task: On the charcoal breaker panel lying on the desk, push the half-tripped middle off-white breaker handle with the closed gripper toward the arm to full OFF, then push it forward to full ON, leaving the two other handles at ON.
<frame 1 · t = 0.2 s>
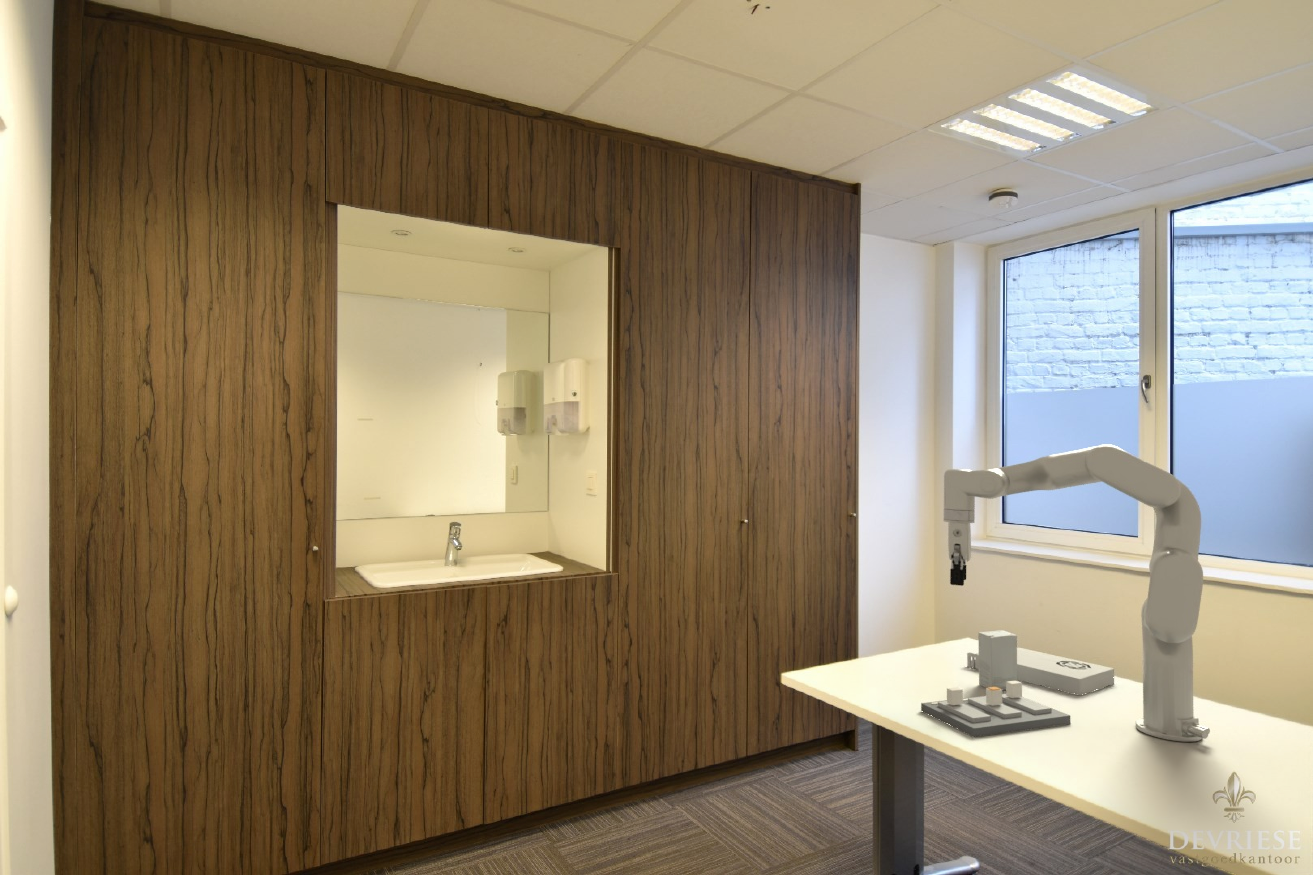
hand: (958, 582, 195), 30 cm above the table, tool pointing down, fingers open, 9 cm apart
tripped breaker: (994, 695, 180), point 5 cm above the table, slide at 3.0 cm
power supply unit: (1038, 677, 216), on the table
breaker one: (1014, 689, 186), point 5 cm above the table, slide at 6.0 cm
skincare box: (997, 688, 204), on the table
breaker panel: (994, 717, 180), on the table
breaker three: (954, 696, 180), point 5 cm above the table, slide at 6.0 cm
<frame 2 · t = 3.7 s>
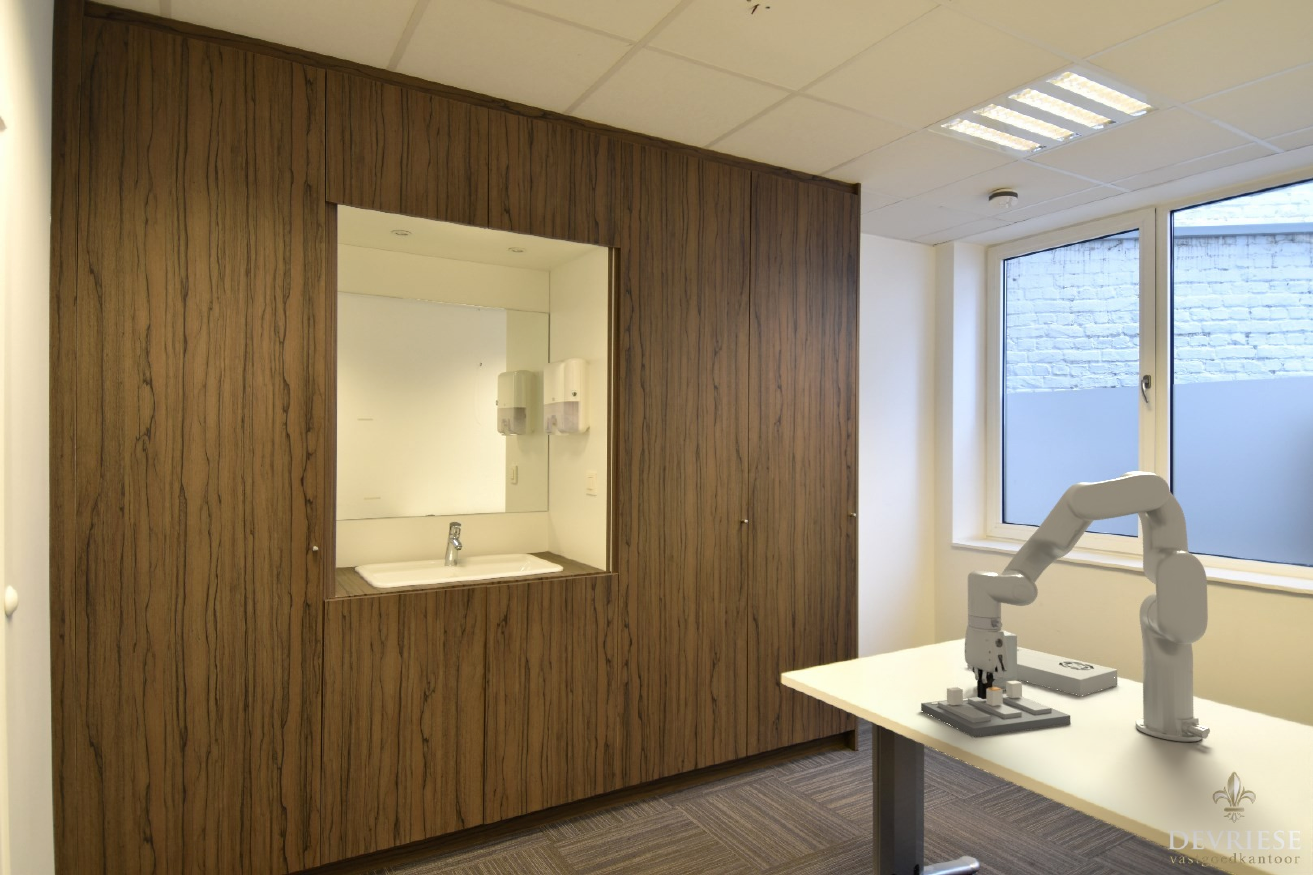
hand: (984, 697, 183), 4 cm above the table, tool pointing down, fingers closed
tripped breaker: (994, 696, 180), point 5 cm above the table, slide at 2.8 cm, touching gripper
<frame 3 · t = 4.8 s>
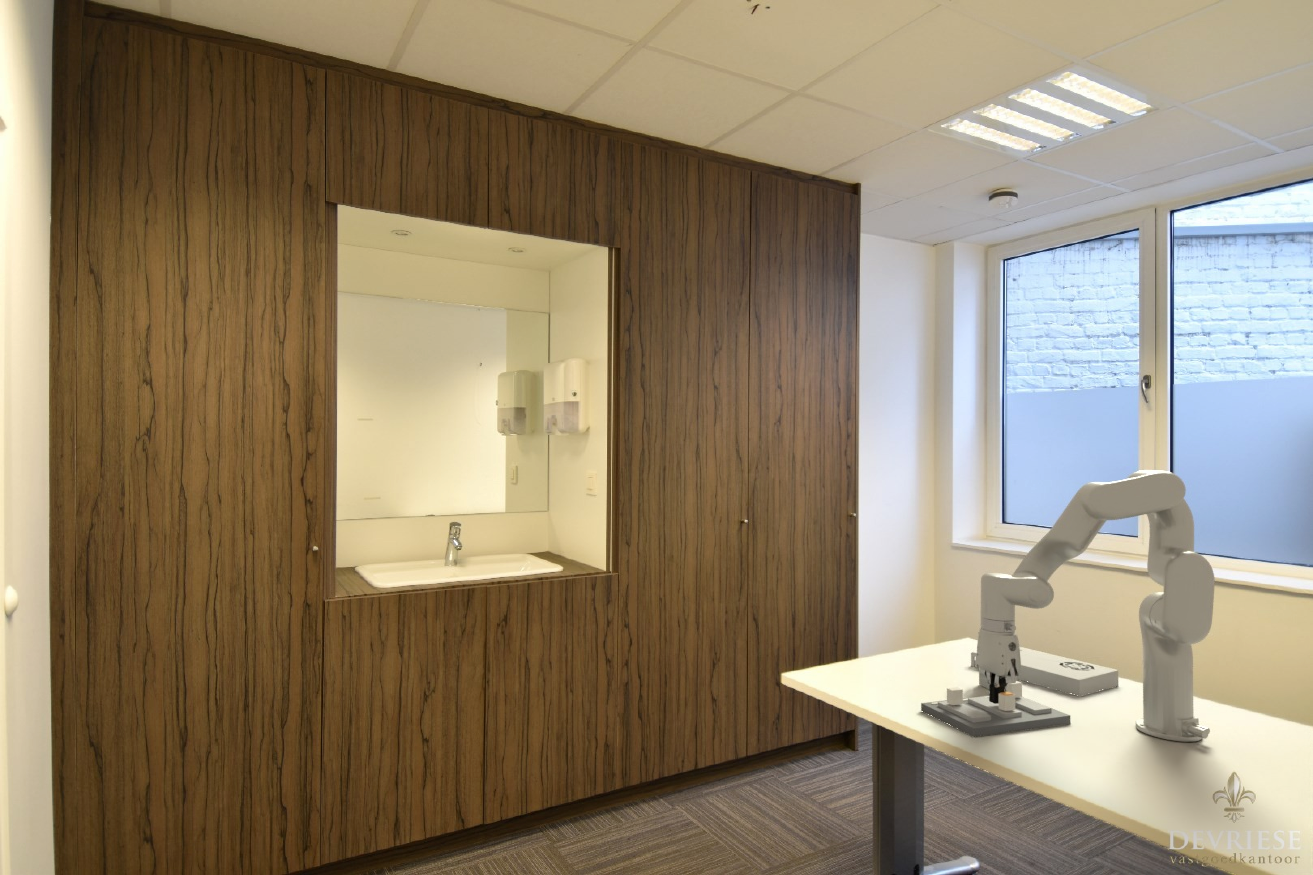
hand: (997, 702, 179), 4 cm above the table, tool pointing down, fingers closed
tripped breaker: (1006, 701, 176), point 5 cm above the table, slide at -1.1 cm, touching gripper
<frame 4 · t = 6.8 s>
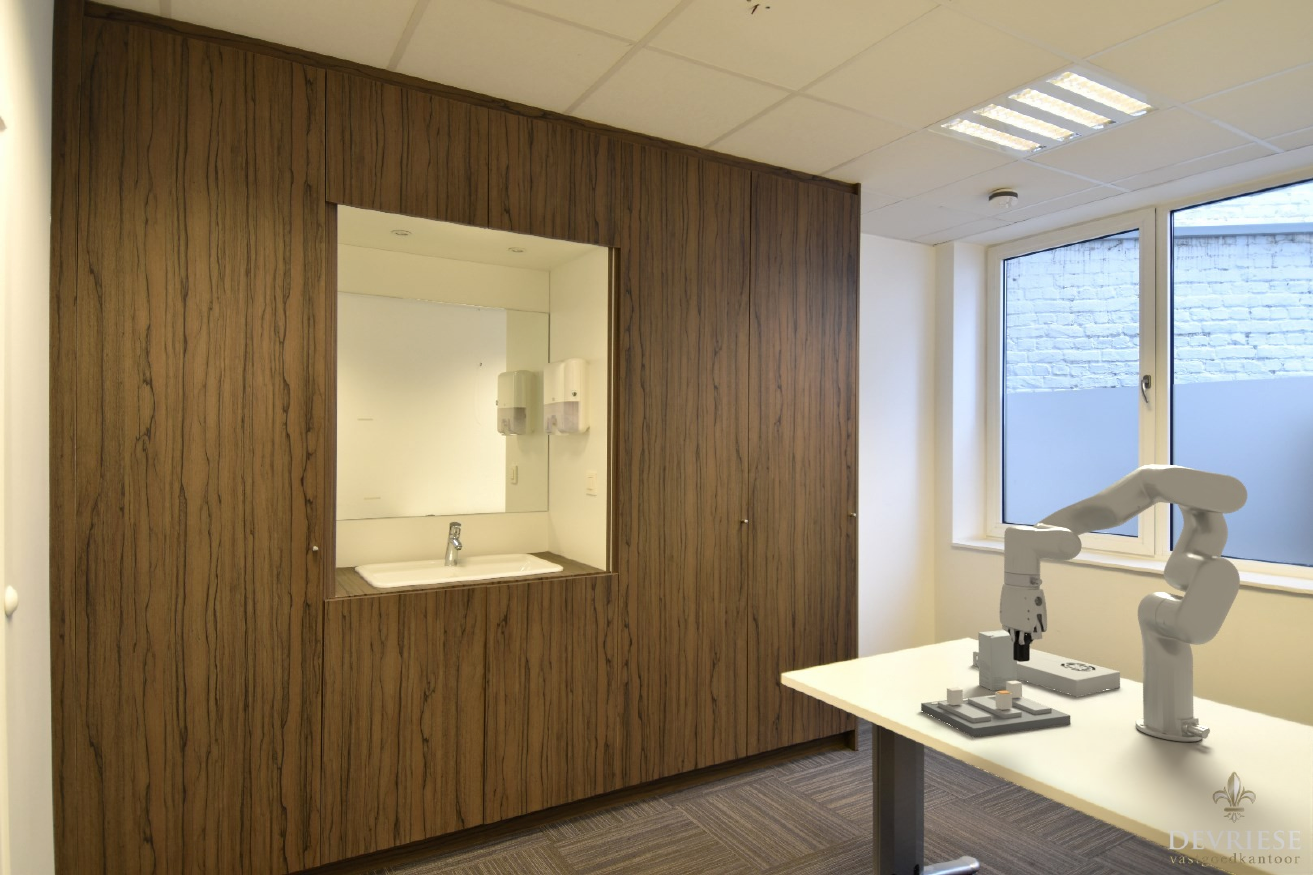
hand: (1021, 660, 172), 16 cm above the table, tool pointing down, fingers closed
tripped breaker: (1003, 699, 177), point 5 cm above the table, slide at -0.1 cm
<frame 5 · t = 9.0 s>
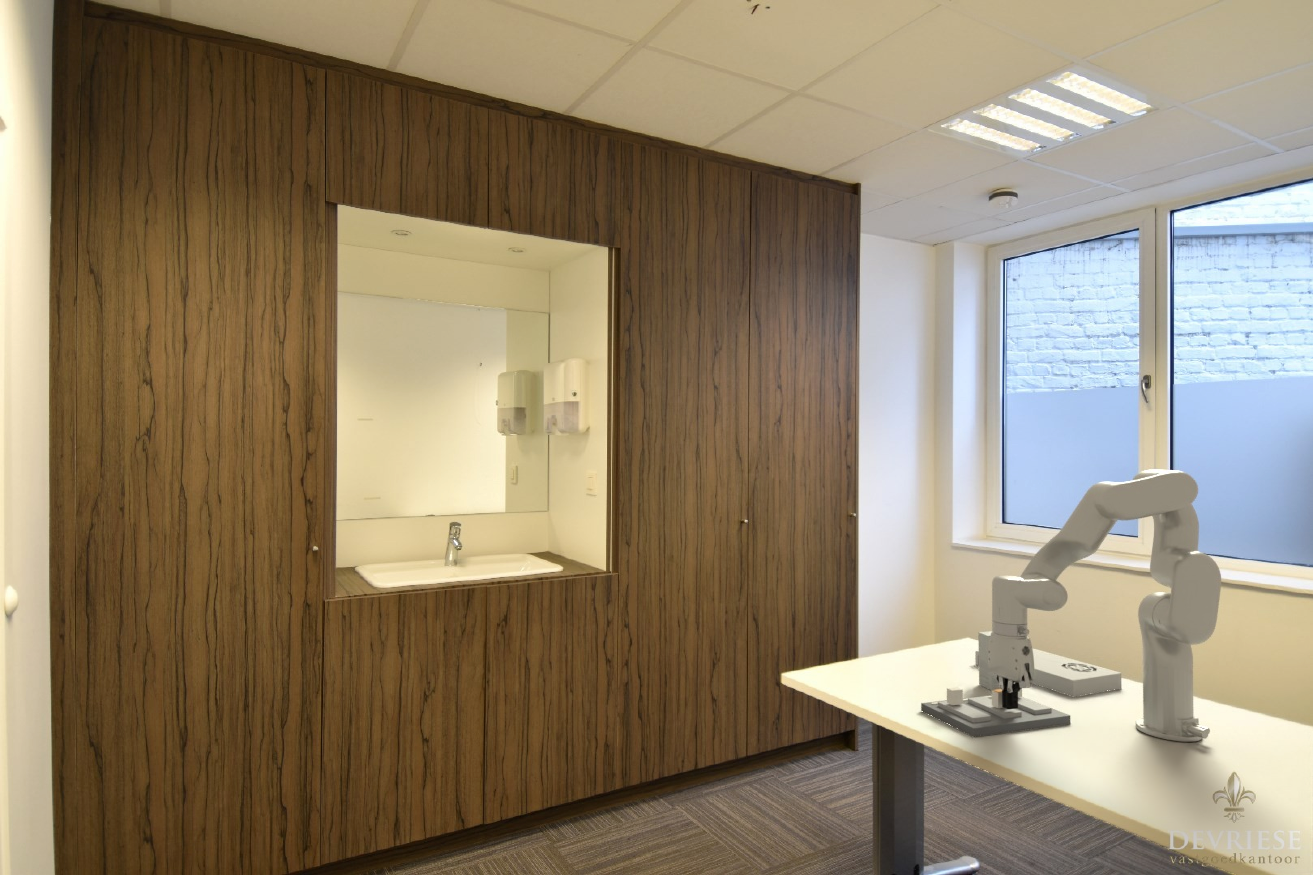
hand: (1010, 707, 175), 4 cm above the table, tool pointing down, fingers closed
tripped breaker: (999, 698, 178), point 5 cm above the table, slide at 1.1 cm, touching gripper
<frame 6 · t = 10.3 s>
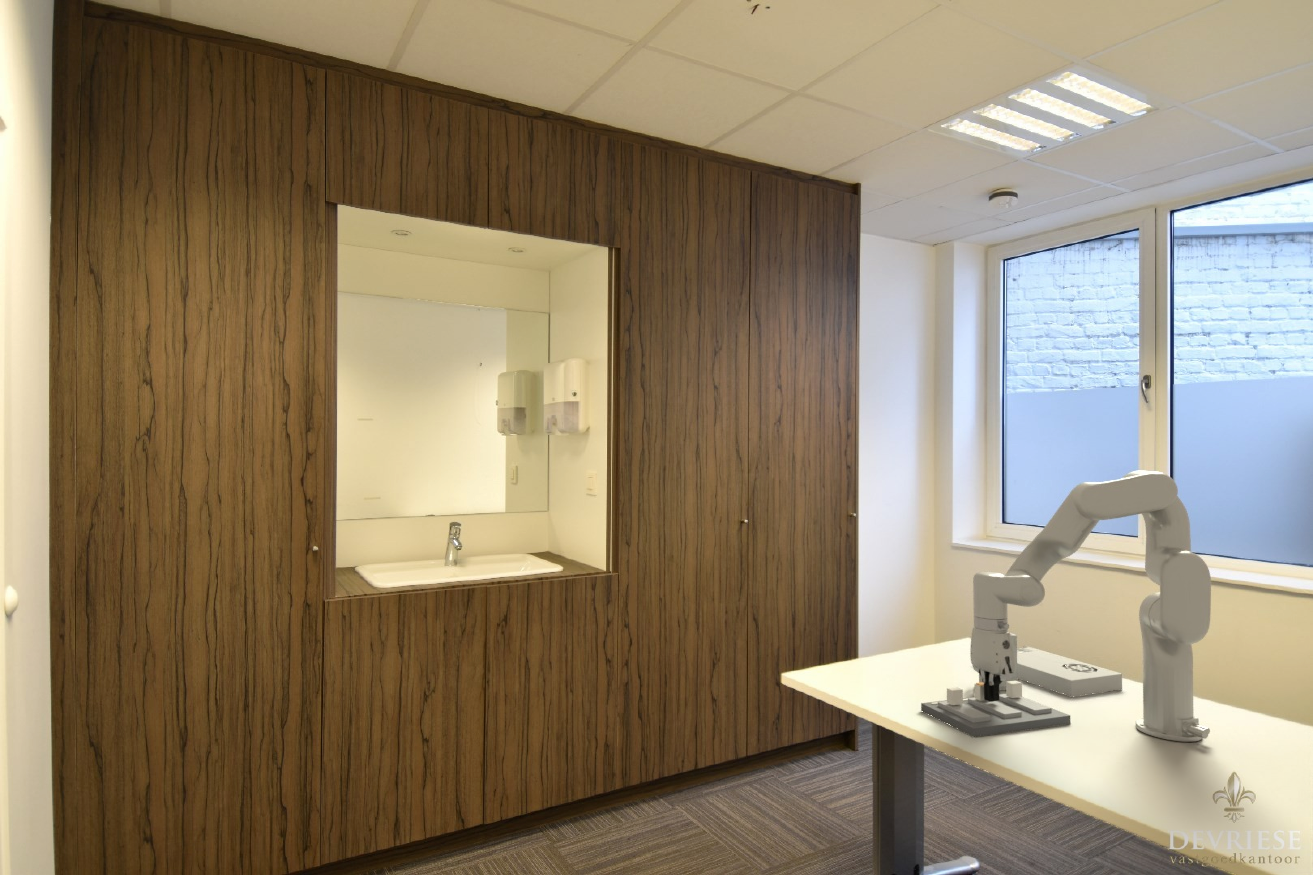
hand: (991, 700, 181), 4 cm above the table, tool pointing down, fingers closed
tripped breaker: (982, 691, 184), point 5 cm above the table, slide at 6.9 cm, touching gripper
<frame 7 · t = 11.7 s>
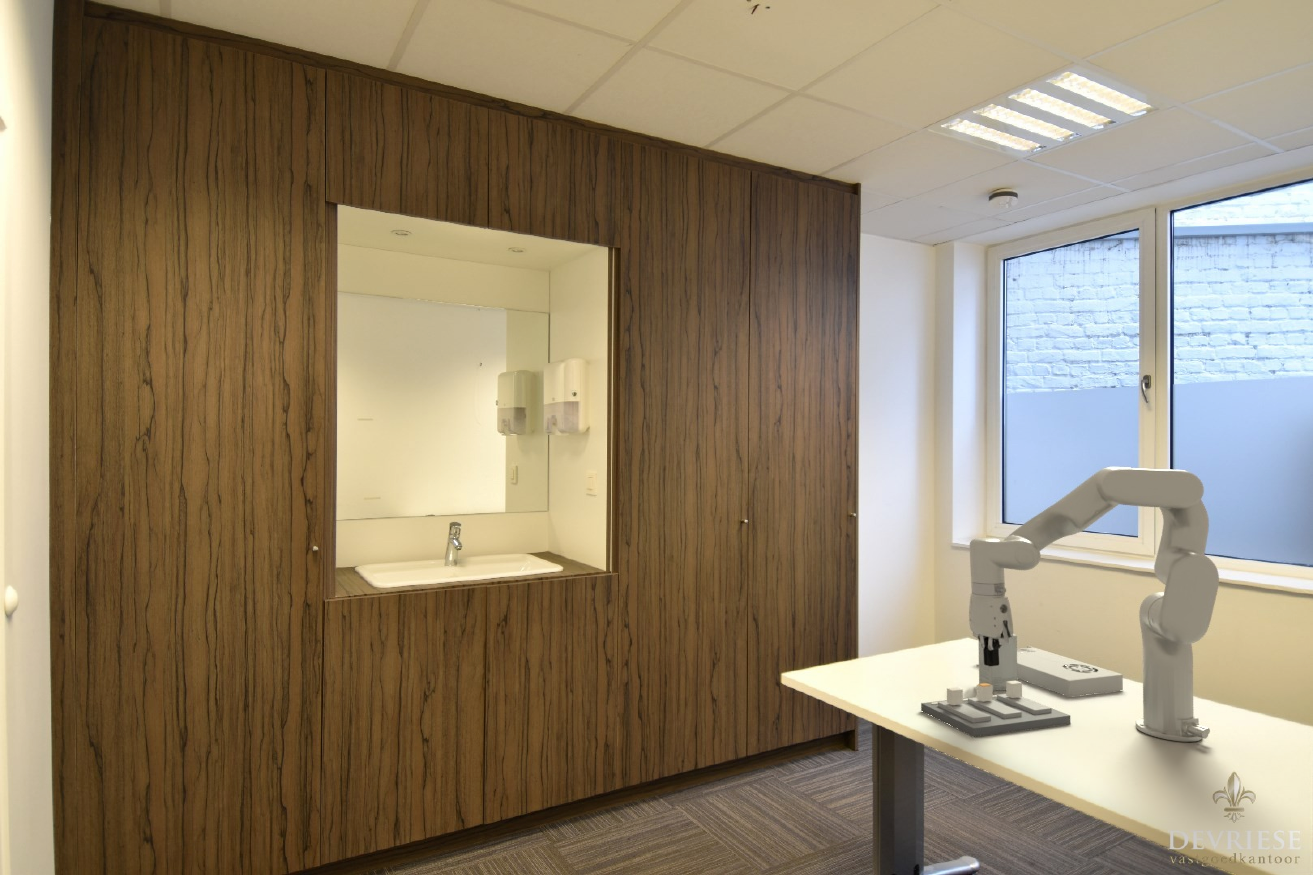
hand: (991, 664, 182), 12 cm above the table, tool pointing down, fingers closed
tripped breaker: (984, 691, 183), point 5 cm above the table, slide at 6.1 cm
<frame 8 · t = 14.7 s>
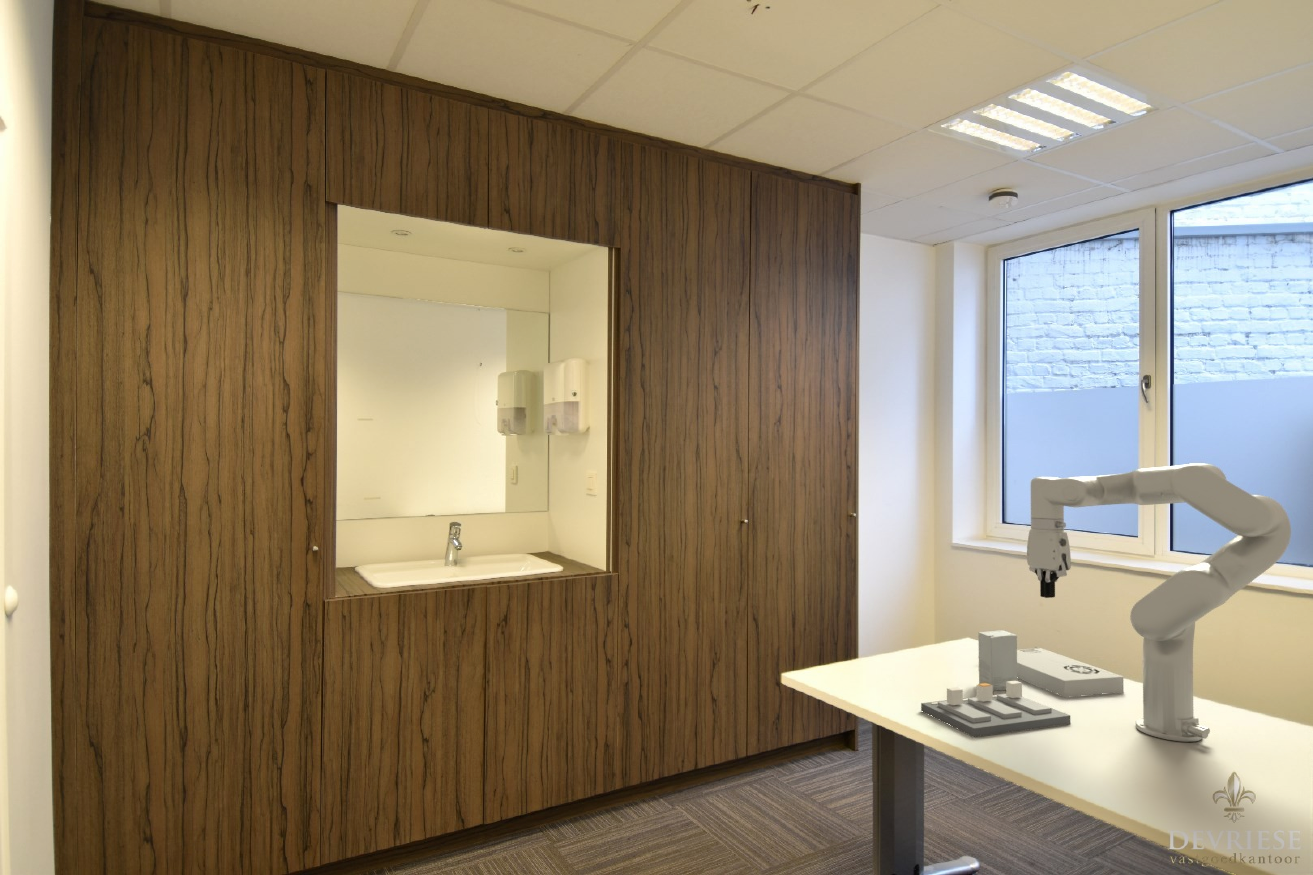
hand: (1047, 596, 191), 27 cm above the table, tool pointing down, fingers closed
at the end: tripped breaker slide at 6.1 cm; breaker one slide at 6.0 cm; breaker three slide at 6.0 cm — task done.
